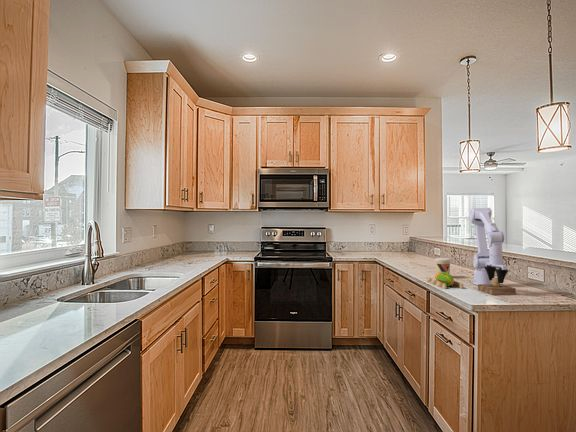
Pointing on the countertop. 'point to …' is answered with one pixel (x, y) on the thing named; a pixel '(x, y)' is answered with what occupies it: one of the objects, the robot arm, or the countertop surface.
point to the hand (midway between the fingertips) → (496, 281)
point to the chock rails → (443, 283)
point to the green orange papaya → (445, 278)
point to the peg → (495, 282)
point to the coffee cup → (442, 265)
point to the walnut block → (497, 289)
